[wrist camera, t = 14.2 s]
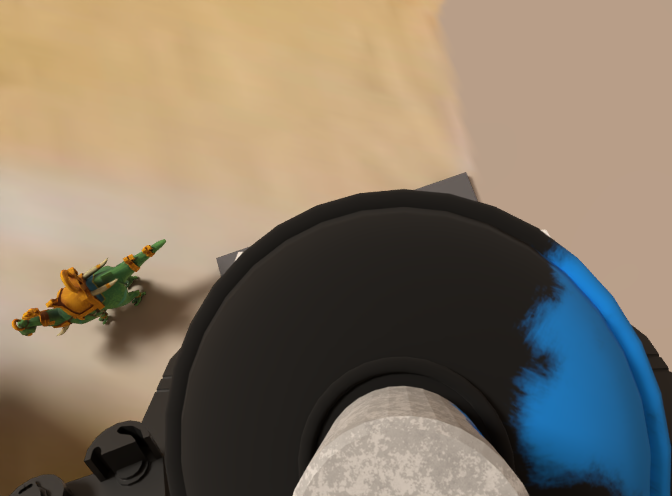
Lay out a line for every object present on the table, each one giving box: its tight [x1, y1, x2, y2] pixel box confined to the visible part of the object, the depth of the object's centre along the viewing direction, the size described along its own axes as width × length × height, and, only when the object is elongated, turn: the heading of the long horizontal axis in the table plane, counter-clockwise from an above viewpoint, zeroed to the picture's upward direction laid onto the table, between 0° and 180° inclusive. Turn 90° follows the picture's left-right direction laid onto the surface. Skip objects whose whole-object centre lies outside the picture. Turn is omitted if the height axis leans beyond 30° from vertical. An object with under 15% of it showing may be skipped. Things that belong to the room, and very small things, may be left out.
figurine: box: [12, 239, 166, 336], centre depth 32 cm, size 3×12×8 cm, turn 122°
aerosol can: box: [165, 189, 671, 496], centre depth 13 cm, size 8×8×20 cm
